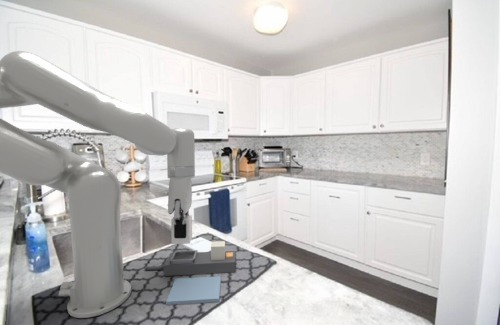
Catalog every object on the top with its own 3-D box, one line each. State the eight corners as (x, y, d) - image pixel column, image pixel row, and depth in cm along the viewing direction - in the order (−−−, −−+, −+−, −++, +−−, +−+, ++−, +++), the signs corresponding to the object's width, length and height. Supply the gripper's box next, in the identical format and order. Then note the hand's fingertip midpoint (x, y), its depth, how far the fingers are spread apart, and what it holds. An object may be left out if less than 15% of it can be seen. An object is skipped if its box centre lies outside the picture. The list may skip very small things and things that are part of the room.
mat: (166, 305, 52) (166, 301, 52) (175, 281, 61) (175, 278, 61) (219, 301, 53) (219, 298, 53) (220, 279, 62) (220, 276, 62)
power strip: (139, 277, 63) (138, 252, 62) (148, 263, 70) (147, 241, 69) (235, 272, 65) (235, 248, 64) (235, 259, 72) (234, 238, 71)
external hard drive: (202, 258, 74) (182, 247, 82) (221, 250, 80) (201, 240, 88) (202, 253, 74) (182, 242, 82) (221, 245, 80) (201, 236, 88)
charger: (171, 244, 64) (171, 215, 64) (175, 238, 68) (174, 211, 68) (189, 243, 64) (189, 215, 64) (192, 238, 68) (191, 211, 68)
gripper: (175, 169, 73) (176, 225, 74) (158, 176, 56) (159, 247, 58) (198, 169, 74) (199, 224, 75) (189, 175, 57) (190, 246, 58)
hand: (182, 234), depth 66 cm, fingers closed on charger, 4 cm apart
